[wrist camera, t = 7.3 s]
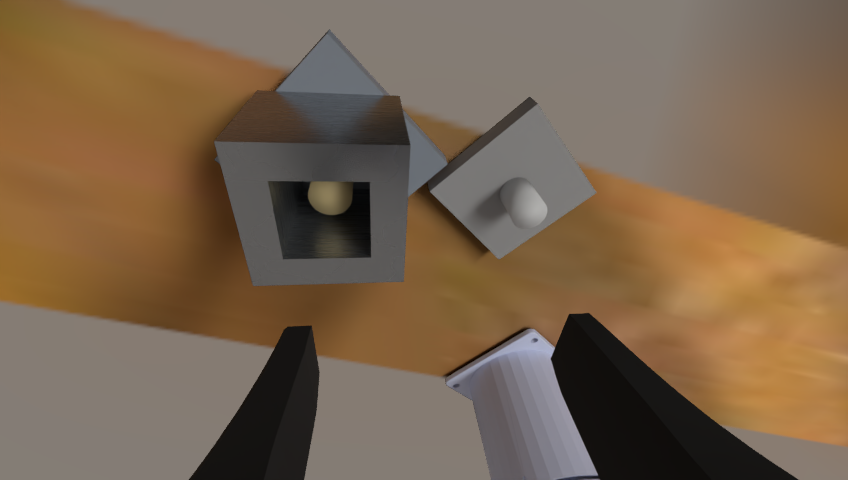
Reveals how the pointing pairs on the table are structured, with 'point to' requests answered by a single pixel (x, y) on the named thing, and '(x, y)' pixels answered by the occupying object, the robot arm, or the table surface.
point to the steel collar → (327, 162)
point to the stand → (512, 181)
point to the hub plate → (344, 74)
